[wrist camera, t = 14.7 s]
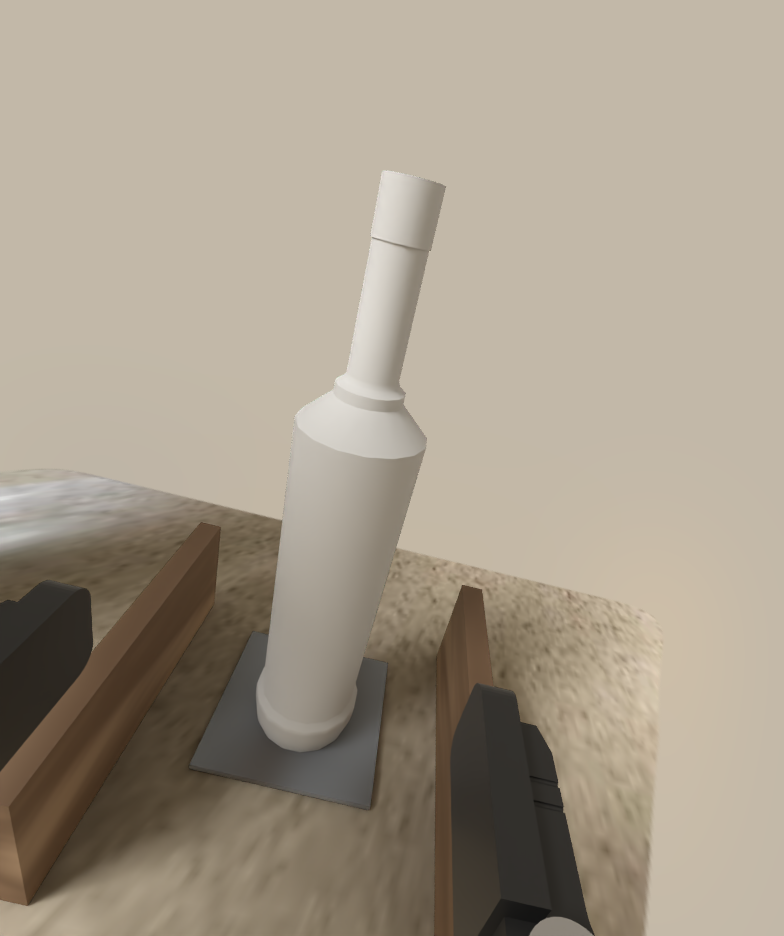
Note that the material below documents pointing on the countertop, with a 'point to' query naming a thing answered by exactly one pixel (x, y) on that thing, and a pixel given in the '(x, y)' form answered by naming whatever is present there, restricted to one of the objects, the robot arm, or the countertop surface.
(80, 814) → the arena
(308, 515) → the bottle
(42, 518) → the countertop surface
